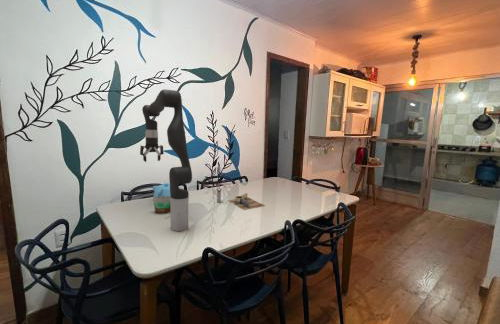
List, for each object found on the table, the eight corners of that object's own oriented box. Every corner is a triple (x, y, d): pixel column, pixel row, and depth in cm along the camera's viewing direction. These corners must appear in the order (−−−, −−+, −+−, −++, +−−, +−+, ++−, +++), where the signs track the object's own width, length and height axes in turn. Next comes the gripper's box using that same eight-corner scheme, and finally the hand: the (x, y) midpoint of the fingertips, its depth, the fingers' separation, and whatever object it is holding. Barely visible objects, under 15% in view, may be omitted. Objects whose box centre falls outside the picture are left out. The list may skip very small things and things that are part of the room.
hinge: (230, 200, 177) (230, 195, 176) (246, 198, 185) (246, 193, 184) (244, 208, 162) (245, 202, 161) (261, 205, 170) (261, 200, 169)
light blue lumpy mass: (180, 204, 167) (180, 185, 165) (155, 207, 160) (155, 187, 158) (175, 196, 183) (175, 179, 181) (152, 199, 176) (151, 180, 174)
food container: (151, 214, 147) (151, 198, 146) (152, 211, 153) (152, 195, 151) (172, 213, 150) (172, 198, 149) (173, 210, 156) (173, 195, 155)
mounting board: (227, 202, 177) (227, 200, 177) (247, 198, 188) (247, 197, 187) (243, 211, 160) (244, 210, 159) (265, 207, 170) (265, 205, 170)
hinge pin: (222, 204, 172) (222, 189, 170) (217, 205, 170) (218, 190, 168) (219, 202, 175) (219, 188, 173) (214, 203, 173) (215, 188, 171)
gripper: (141, 137, 152) (142, 162, 154) (164, 137, 160) (164, 161, 163) (138, 136, 157) (139, 161, 160) (160, 136, 166) (161, 159, 169)
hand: (152, 161), depth 162 cm, fingers open, 8 cm apart
